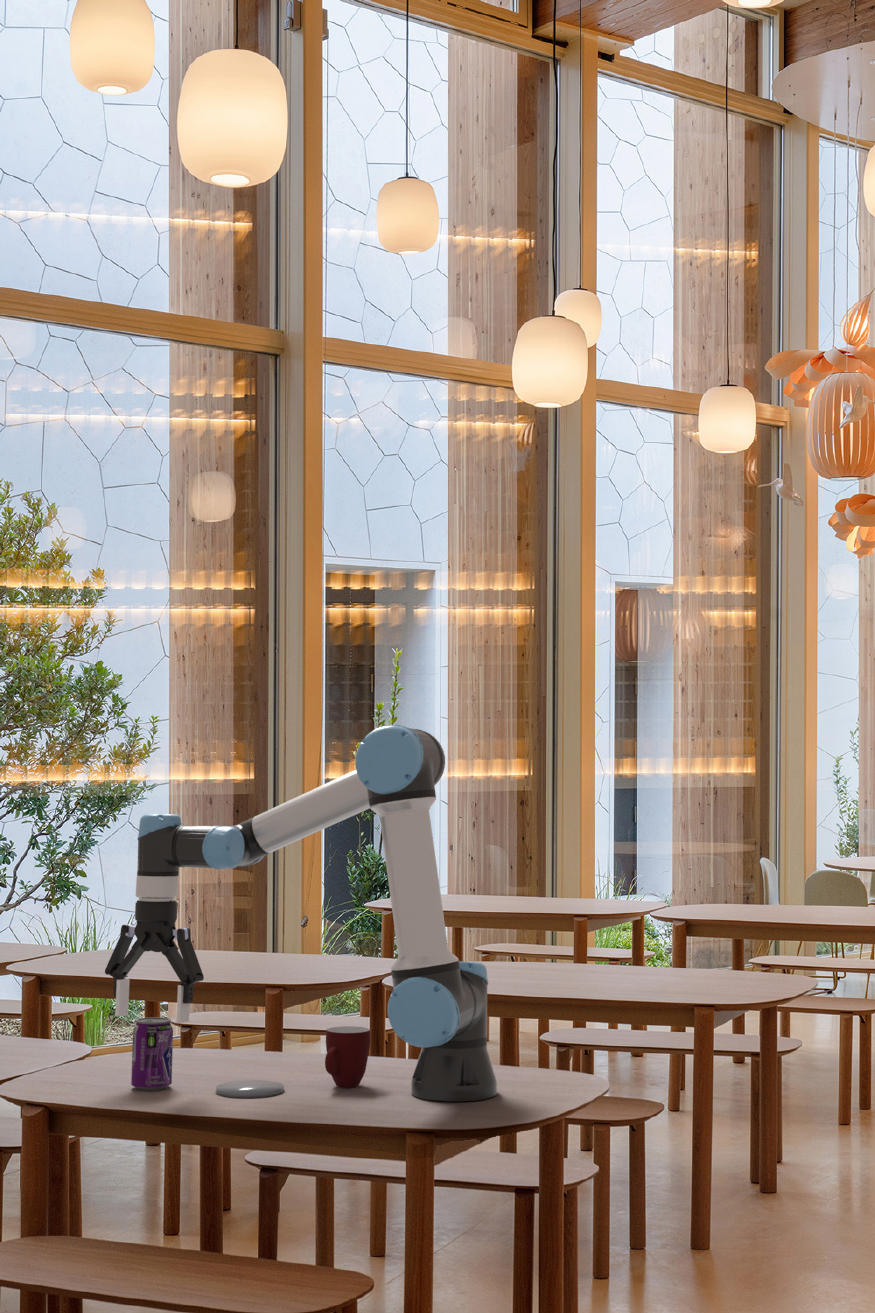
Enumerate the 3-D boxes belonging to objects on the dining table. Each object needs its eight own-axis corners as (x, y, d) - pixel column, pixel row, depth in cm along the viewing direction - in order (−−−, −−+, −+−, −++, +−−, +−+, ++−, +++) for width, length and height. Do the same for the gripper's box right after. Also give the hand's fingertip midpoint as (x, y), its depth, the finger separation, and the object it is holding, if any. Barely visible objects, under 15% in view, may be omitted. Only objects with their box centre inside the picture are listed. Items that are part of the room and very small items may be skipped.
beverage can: (158, 1093, 245) (160, 1023, 247) (123, 1090, 248) (125, 1021, 249) (178, 1086, 252) (180, 1018, 253) (144, 1083, 254) (146, 1016, 256)
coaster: (296, 1088, 250) (296, 1084, 251) (259, 1100, 240) (259, 1095, 240) (240, 1082, 256) (240, 1078, 256) (202, 1094, 245) (202, 1089, 245)
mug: (351, 1094, 246) (352, 1036, 247) (310, 1090, 249) (311, 1033, 250) (377, 1084, 255) (377, 1028, 256) (337, 1080, 258) (338, 1025, 259)
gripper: (225, 901, 251) (221, 1022, 249) (115, 895, 262) (110, 1010, 260) (201, 903, 245) (196, 1027, 242) (88, 897, 256) (83, 1015, 253)
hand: (151, 1019), depth 251 cm, fingers open, 13 cm apart
